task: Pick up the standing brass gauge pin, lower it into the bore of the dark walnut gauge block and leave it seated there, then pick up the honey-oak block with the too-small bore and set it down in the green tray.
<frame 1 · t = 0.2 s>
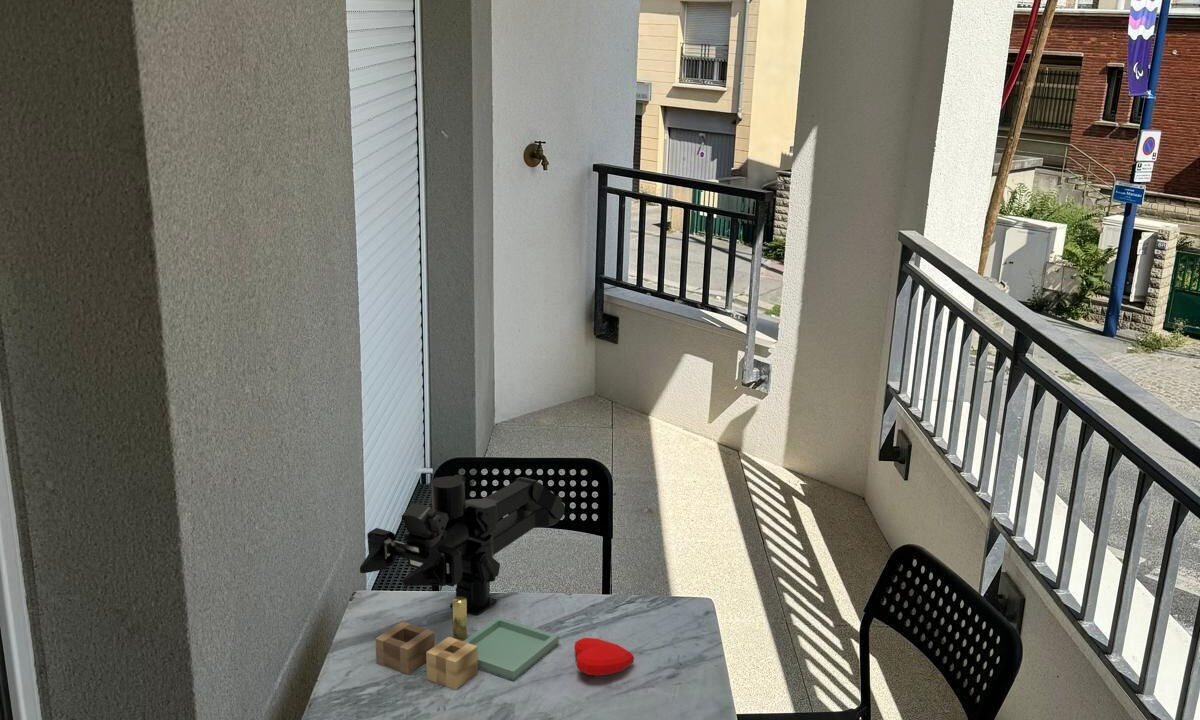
hand: (381, 576, 181), 16 cm above the table, fingers open, 9 cm apart
heart: (604, 668, 186), on the table
oak block: (452, 676, 182), on the table
green tray: (505, 652, 190), on the table
walnut gauge block: (405, 659, 187), on the table
brass pin: (460, 640, 194), on the table
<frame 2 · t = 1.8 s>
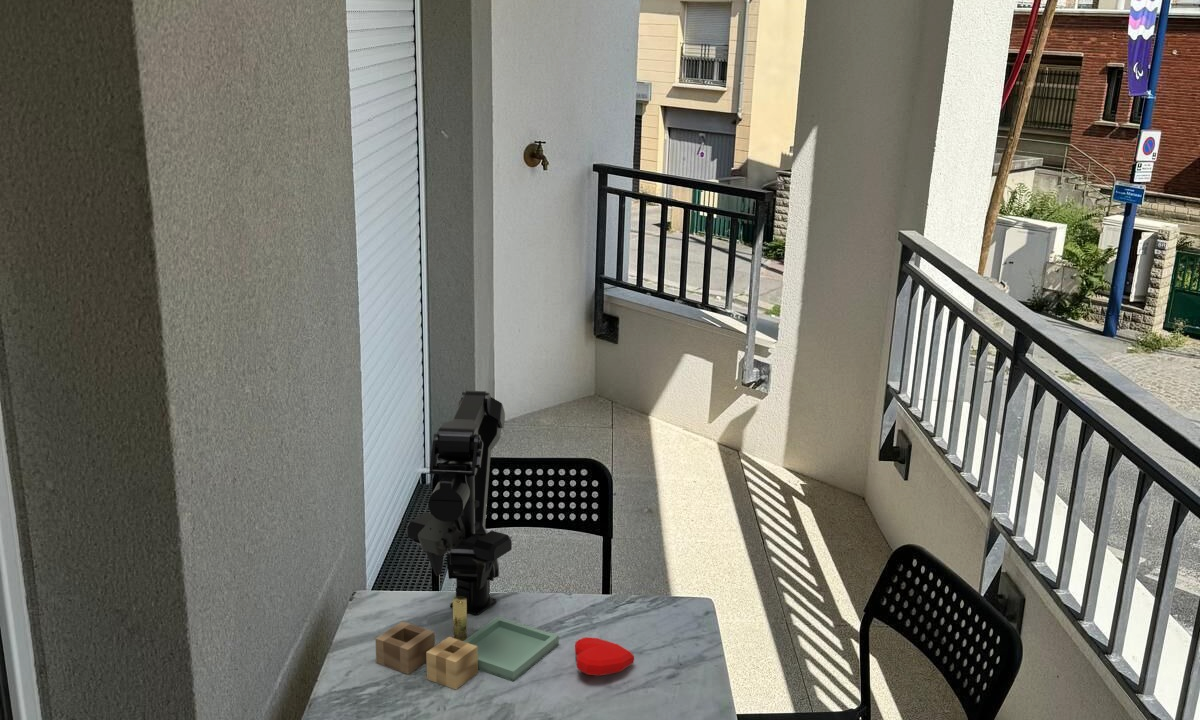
hand: (459, 581, 191), 11 cm above the table, fingers open, 9 cm apart
nothing on the table moved.
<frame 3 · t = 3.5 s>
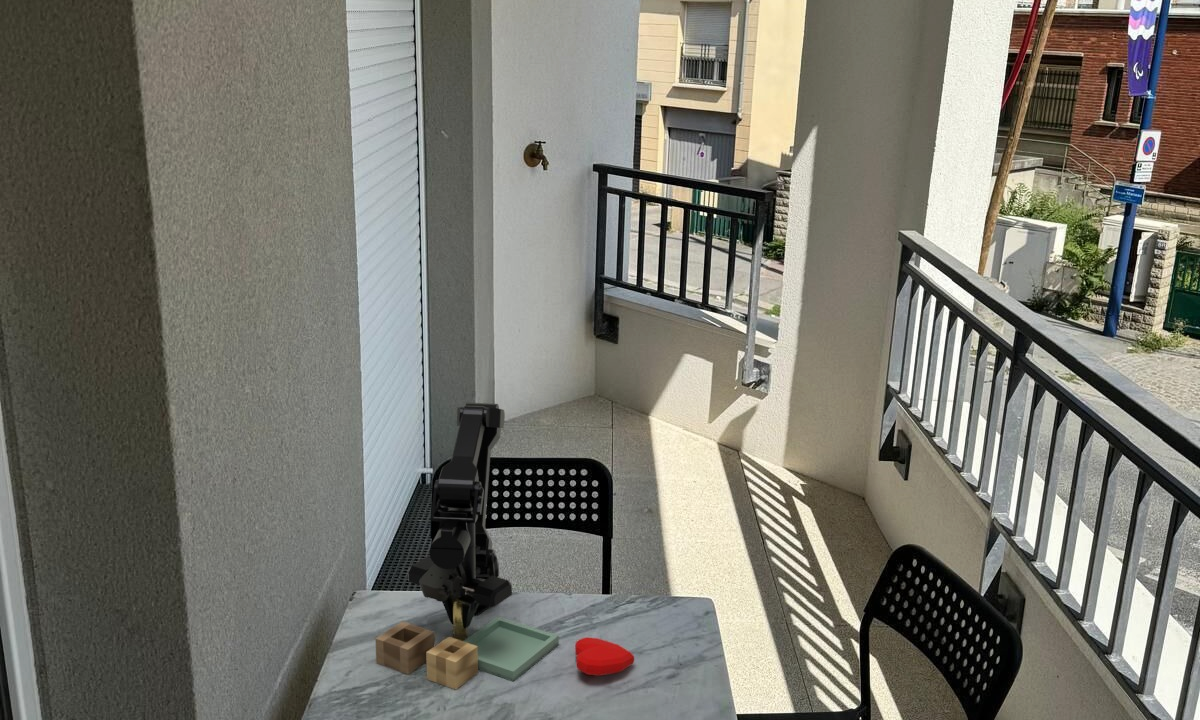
hand: (460, 625, 193), 3 cm above the table, fingers closed on brass pin, 2 cm apart
brass pin: (460, 640, 194), on the table, touching gripper
everything else where it was.
when the fingers open (5 cm above the table, at t = 6.8 s): brass pin drops 3 cm, resting in walnut gauge block.
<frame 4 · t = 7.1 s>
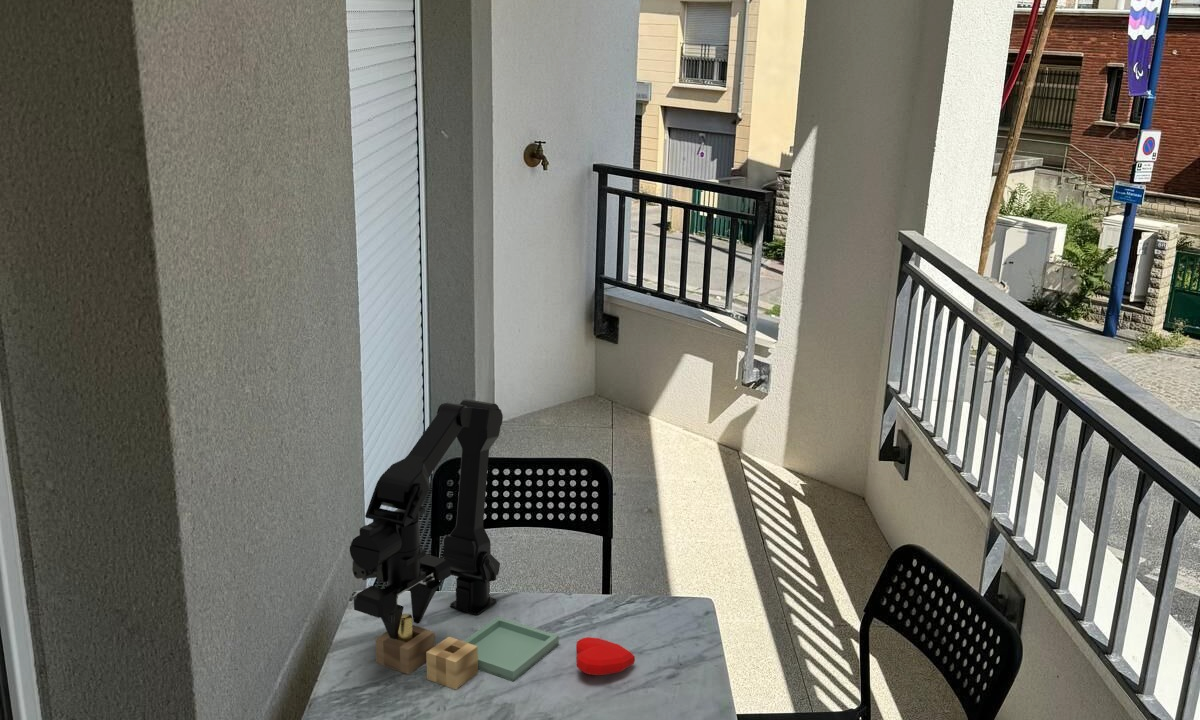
hand: (405, 630, 186), 5 cm above the table, fingers open, 6 cm apart
brass pin: (406, 659, 187), resting in walnut gauge block
everything else where it was.
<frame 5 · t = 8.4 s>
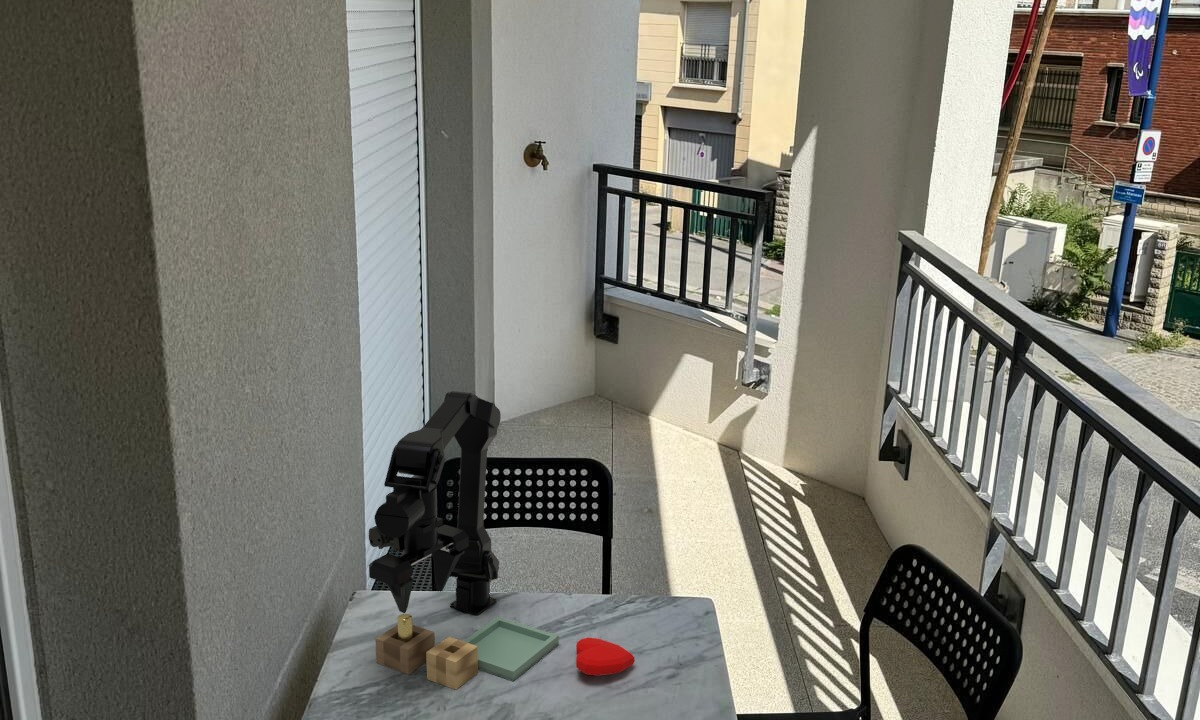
hand: (421, 601, 182), 12 cm above the table, fingers open, 9 cm apart
nothing on the table moved.
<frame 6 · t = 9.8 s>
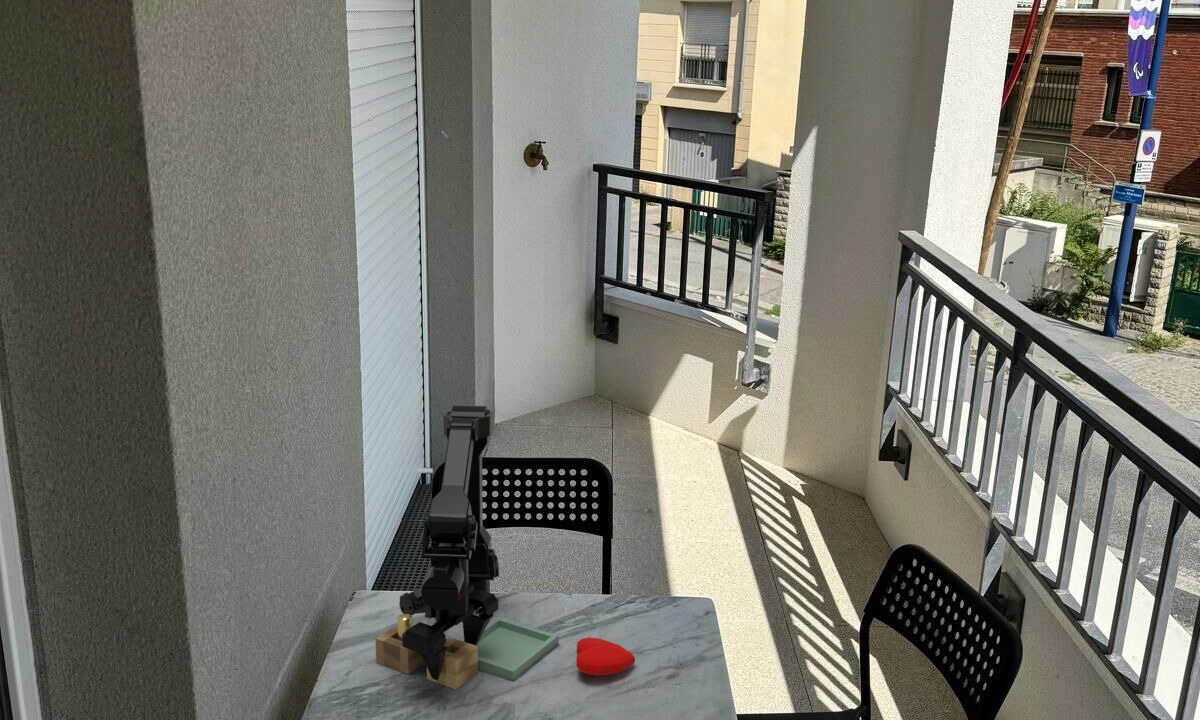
hand: (452, 666, 182), 2 cm above the table, fingers open, 9 cm apart
nothing on the table moved.
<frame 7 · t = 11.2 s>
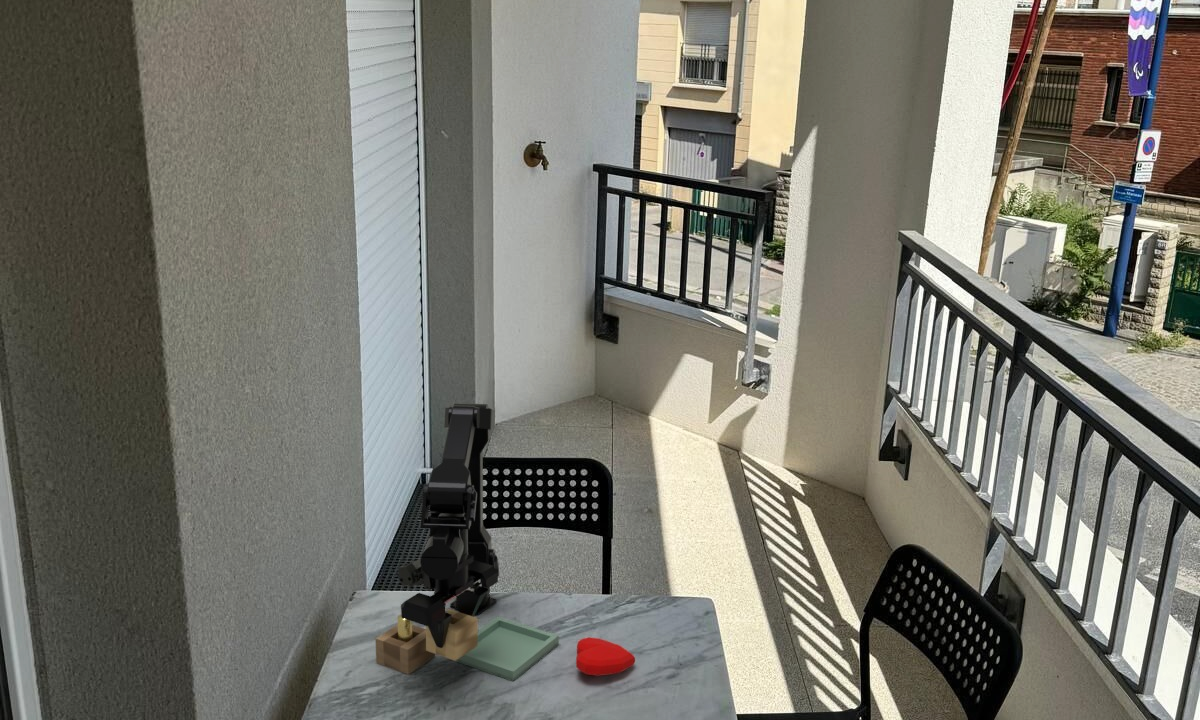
hand: (451, 638, 180), 7 cm above the table, fingers closed on oak block, 6 cm apart
oak block: (451, 648, 181), point 5 cm above the table, touching gripper
everything else where it was.
when the fingers open (3 cm above the table, at t = 14.3 s): oak block stays where it is, resting on green tray.
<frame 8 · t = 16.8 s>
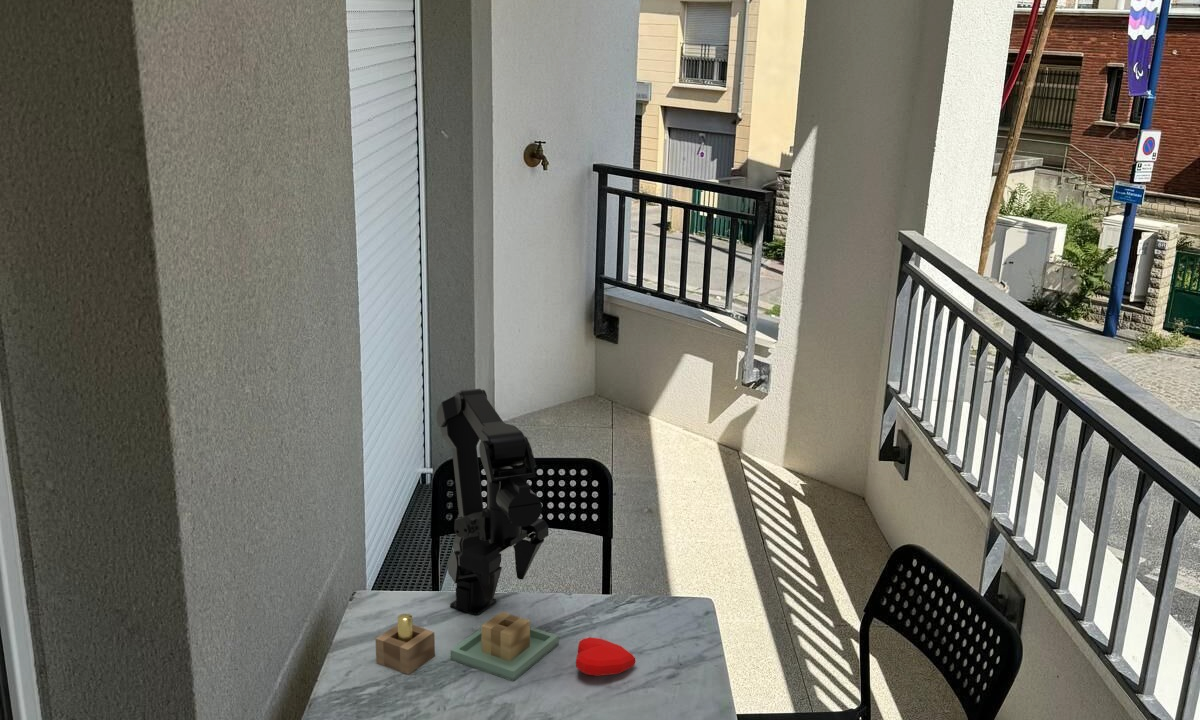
hand: (505, 589, 187), 12 cm above the table, fingers open, 9 cm apart
oak block: (505, 649, 190), resting on green tray
everything else where it was.
at the end: oak block inside the target area on the green tray (0.1 cm from its centre), point 0.5 cm above the green tray's base; brass pin 0.1 cm from the walnut gauge block (horizontally); brass pin resting in walnut gauge block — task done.
